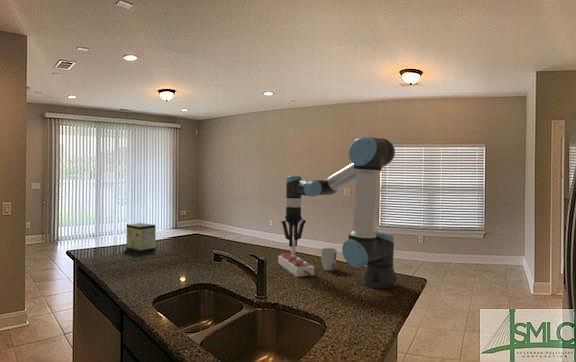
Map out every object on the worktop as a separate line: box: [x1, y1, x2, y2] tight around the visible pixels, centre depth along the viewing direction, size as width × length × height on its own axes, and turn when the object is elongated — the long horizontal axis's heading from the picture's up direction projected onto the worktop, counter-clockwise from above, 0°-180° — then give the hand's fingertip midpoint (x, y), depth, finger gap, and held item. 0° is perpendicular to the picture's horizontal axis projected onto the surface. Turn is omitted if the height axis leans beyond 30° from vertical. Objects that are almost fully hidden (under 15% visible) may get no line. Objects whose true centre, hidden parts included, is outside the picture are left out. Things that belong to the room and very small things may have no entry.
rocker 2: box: [287, 256, 298, 260], centre depth 203 cm, size 5×4×2 cm
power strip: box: [277, 254, 315, 277], centre depth 201 cm, size 34×9×4 cm, turn 19°
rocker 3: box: [292, 261, 303, 264], centre depth 194 cm, size 5×4×2 cm
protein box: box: [126, 222, 157, 253], centre depth 245 cm, size 10×16×16 cm
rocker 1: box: [280, 252, 292, 256], centre depth 211 cm, size 5×4×2 cm
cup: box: [320, 247, 338, 272], centre depth 203 cm, size 8×8×10 cm
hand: (292, 253), depth 201 cm, fingers closed
